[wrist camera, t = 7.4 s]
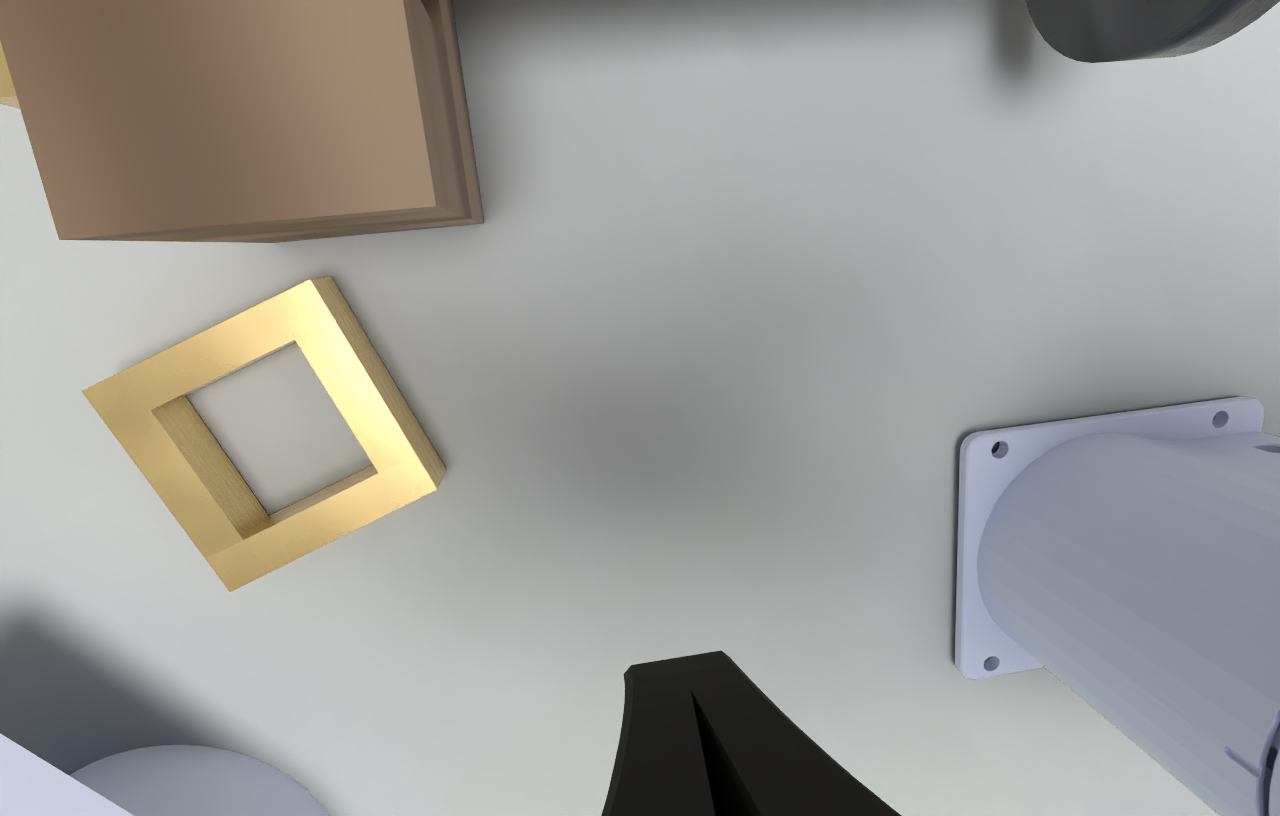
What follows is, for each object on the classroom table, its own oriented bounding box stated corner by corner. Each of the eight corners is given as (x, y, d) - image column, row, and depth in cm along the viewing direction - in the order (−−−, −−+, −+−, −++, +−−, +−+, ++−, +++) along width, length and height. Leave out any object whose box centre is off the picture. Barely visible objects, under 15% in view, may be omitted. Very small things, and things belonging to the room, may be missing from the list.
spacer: (331, 276, 16) (309, 279, 15) (446, 469, 18) (437, 489, 16) (123, 378, 16) (81, 391, 15) (256, 564, 18) (230, 591, 16)
